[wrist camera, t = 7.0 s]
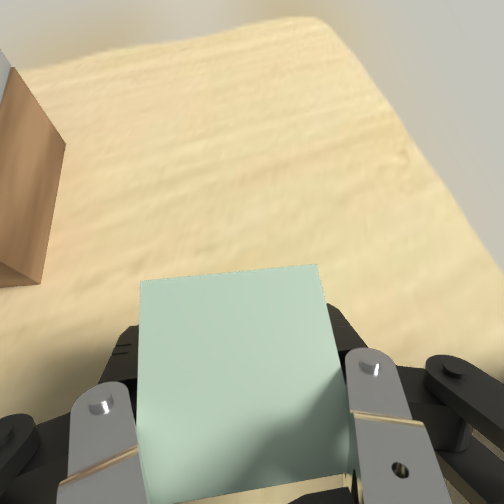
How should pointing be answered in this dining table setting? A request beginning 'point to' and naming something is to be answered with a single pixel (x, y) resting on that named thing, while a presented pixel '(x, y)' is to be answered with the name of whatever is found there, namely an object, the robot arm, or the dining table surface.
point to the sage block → (238, 383)
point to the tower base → (26, 183)
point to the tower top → (3, 72)
